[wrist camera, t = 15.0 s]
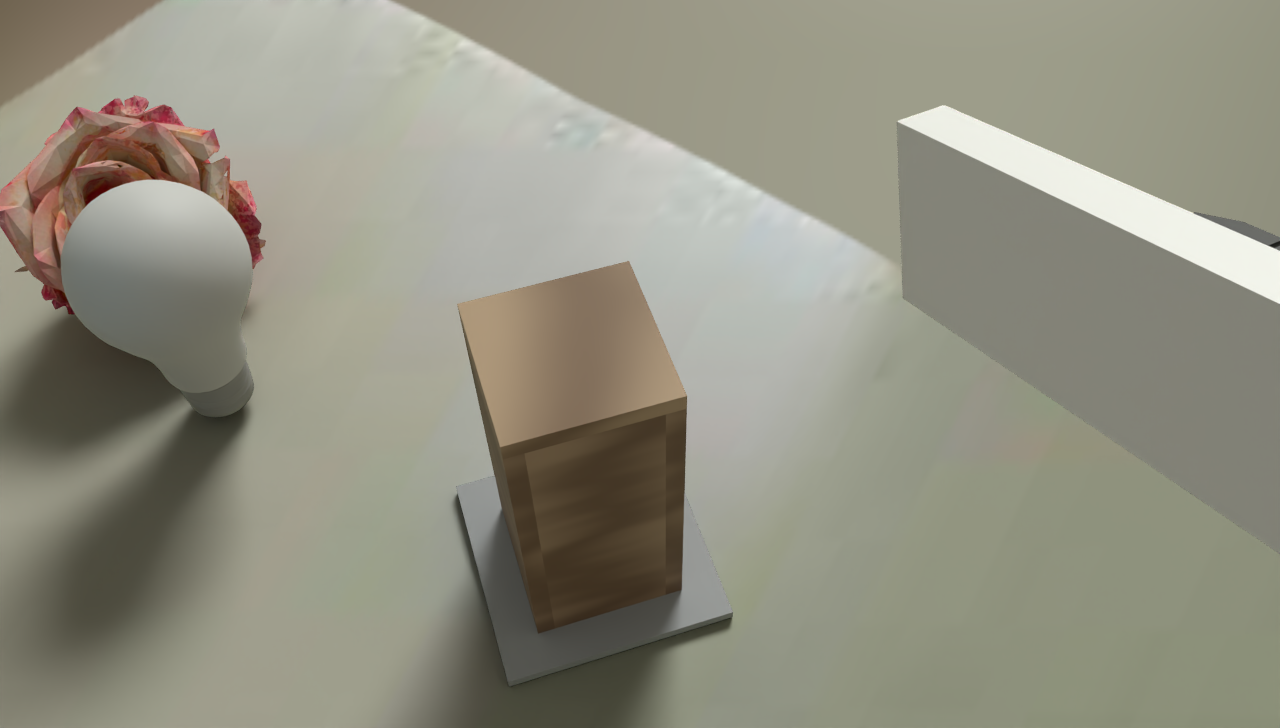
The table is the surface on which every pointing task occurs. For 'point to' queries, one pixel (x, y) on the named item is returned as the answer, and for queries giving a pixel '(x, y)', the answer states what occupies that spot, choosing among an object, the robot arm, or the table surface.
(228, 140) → the table surface
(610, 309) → the brown wooden block
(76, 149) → the flower
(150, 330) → the lightbulb
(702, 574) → the grey square base plate
